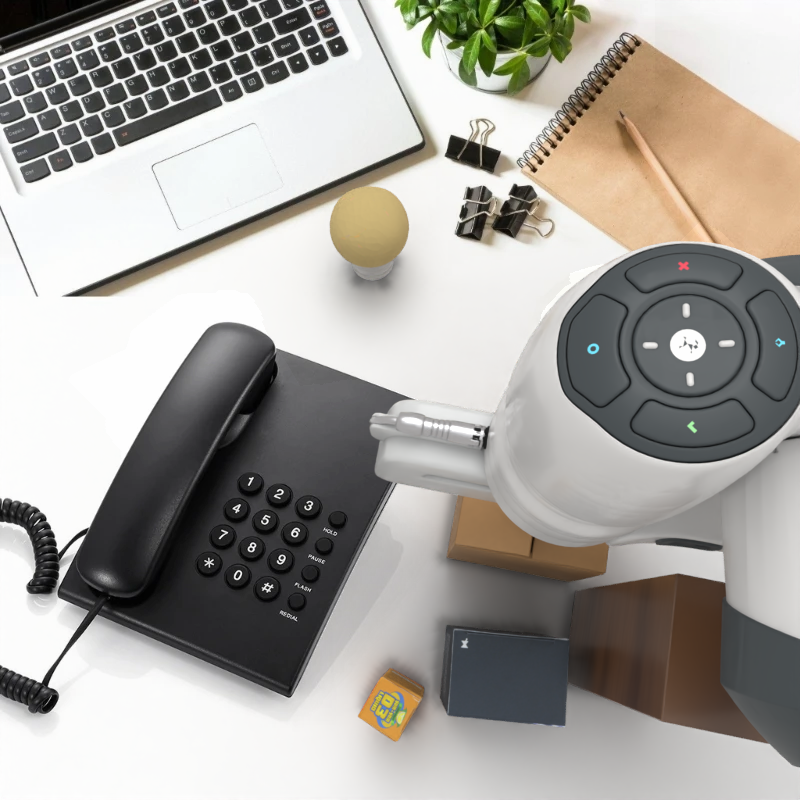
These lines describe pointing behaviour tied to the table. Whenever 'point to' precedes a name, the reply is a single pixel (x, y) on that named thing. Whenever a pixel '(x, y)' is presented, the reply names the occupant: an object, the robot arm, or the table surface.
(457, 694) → the box
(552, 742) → the table surface
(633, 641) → the stand
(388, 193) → the light bulb
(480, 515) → the flap
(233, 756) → the table surface
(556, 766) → the table surface
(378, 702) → the supplement box
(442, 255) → the table surface
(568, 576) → the carton
